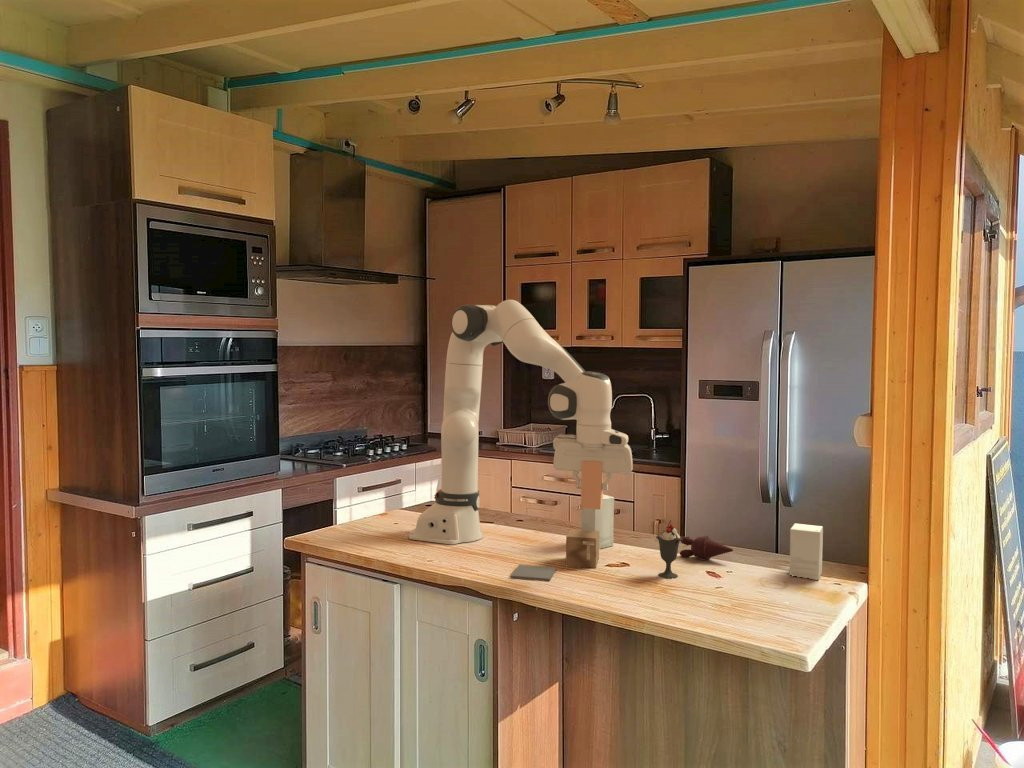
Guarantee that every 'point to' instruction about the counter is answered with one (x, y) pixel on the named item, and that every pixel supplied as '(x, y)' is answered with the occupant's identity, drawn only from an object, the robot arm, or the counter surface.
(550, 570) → the grey mat
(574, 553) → the lettered block
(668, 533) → the sundae
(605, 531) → the skincare box
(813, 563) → the supplement box
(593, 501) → the terracotta pillar
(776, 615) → the counter surface
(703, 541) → the icecream
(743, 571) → the counter surface
